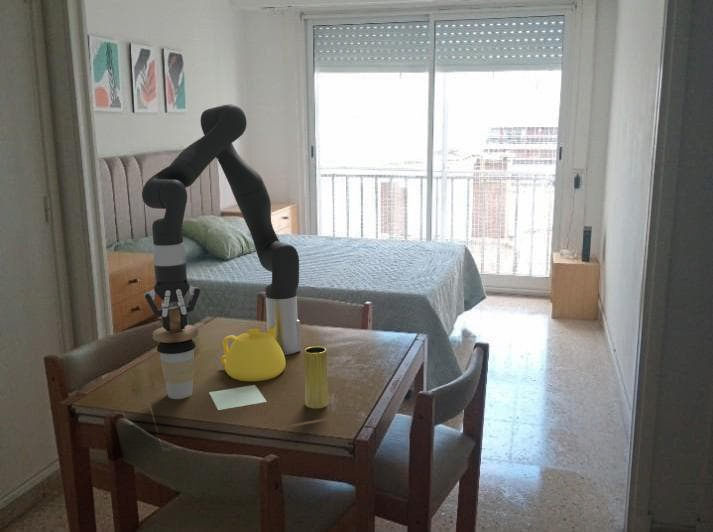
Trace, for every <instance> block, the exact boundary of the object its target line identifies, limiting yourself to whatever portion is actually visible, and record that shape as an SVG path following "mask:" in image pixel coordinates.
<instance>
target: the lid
mask: <svg viewBox="0 0 713 532" xmlns="http://www.w3.org/2000/svg"><path fill="white" fill-rule="evenodd" d="M167 315H168V318H169V331H166V329H164V328H163V326H162V327H159V328H156V329H154V330H153V332H152V339H153V340H154V341H156V342H157V343H160V342H163V343H174V342H182V341H187V340H190V339H192V340H193V339H195V338H196V337H198V335H199V328H198V327H197V326H195V325H191V324H187V326H185V329H182V324H181V310H180V307H179V306H170V307H168V312H167Z"/></svg>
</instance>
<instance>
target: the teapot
mask: <svg viewBox="0 0 713 532" xmlns="http://www.w3.org/2000/svg"><path fill="white" fill-rule="evenodd" d="M266 331H267V330H266ZM266 331H265V332H264V331H261V329H259V328H250V329H247V332H244V333H241V334H239V335H238V336H236V335H233V334H231V335H227V336H226V337H224V339H223V340H222V349H223V352H224V354H223V355H222V356H221V359H220V360H221V361H220V362H221V364H223V365H224V369H225V372H226V373H227V375H228V376H230V378H231V379H234V380H237V381H240V382H261V381H268V380H271V379H274V378H276V377H278V376H280V374H282V373H283V371H284V370H285V368H286V357H285V356H286V355H284V353H283V351H282V349H281V347H280V345H279V344H278V342H277V341H276V327H270V328H268V331H267V332H266ZM229 340H232V344H230V347H229V346H228V345H229V344H228V341H229Z"/></svg>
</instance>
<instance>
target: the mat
mask: <svg viewBox="0 0 713 532" xmlns="http://www.w3.org/2000/svg"><path fill="white" fill-rule="evenodd" d="M208 394H209V395H210V397H211V399H212V401H213V403H214V405H215V407H216V409H217V411H222V410H228V409H234V408H238V407H239V408H240V407H244V406H250V405H257V404H262V403H268V401H267V400H266V398H265V397H264V396H263V394H262V392H261V391H260V390H259V388H258V387H257V386H256V384H253V385H252V384H251V385H247V386H240V387H233V388H228V389H222V390H216V391H209V392H208Z"/></svg>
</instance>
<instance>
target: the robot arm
mask: <svg viewBox="0 0 713 532" xmlns="http://www.w3.org/2000/svg"><path fill="white" fill-rule="evenodd" d="M200 127H201V130H202V134H203V136H201V137H200V138H199V139H197V140H195V141H194V142H192V143H191V144H190V145H188V146H186V148H184V149H183V150H182V151H181V152H180V153H179V154H178V155H177V156H176V158H175V159H174V160H173V161H172V162H171V163H170V165H168V166H166V167H164V168H163V169H161V170H159V171H158V172H157V173H155V174H154V175H152V176H151V177H150V178H148V180H146V182H145V184H144V185H143V188H142V191H141V198H142V201H143V203H144V204H145V205H146V206H147V207H149V208H152V209H157V210H158V209H160V210H161V209H162V210H165V213H164V217H162V218H158V219H155V220H154V221H153V222H152V227H151V228H152V232H151V233H152V241H153V253H152V255H153V266H154V267H153V268H154V270H153V271H154V281H155V283H154V284H155V285H154V287H153V289H151V290H150V291H145V292H144V293H143V295H144V296H143V297H144V298H145V299H146V301H147V303H148V305H149V306H150V308H151V310H152V311H153V314H154V315H155V316H161V324H162V327H163V328H164V329H166V331H169V318H168V315H167V312H168V308H170V307H169V305H170V304H171V303H177V304H178V307H180V310H181V324H182V329H185V326H187V325H188V317H187V315H188V313H189V312H193V311H194V310H195V307H196V304H197V301H198V298H199V295H200V292H201V289H200V288H199V287H198V286H192V285H190V283H189V282H188V277H187V276H188V274H187V272H188V271H187V261H186V260H187V257H186V249H185V245H184V234H183V224H184V223H183V222H184V218H185V213H186V208H187V202H188V192H187V189H186V188H188V187H190V186H192V185H193V184H194V182H195V181H196V180H197V179H198V178H199V177H200V176H201V174H202V173H203V171H204V170H205V169H206V168H207V167H208V166H209V165H210V164H211V162H213V161H214V160H215V158H216V160H217V162H218V163H219V165H220V167H221V169H222V171H223V173H224V176H225V179H226V180H227V182H228V185H229V186H230V189H231V192H232V194H233V198H234V200H235V202H236V204H237V206H238V208H239V210H240V213H241V215H242V218H243V219H244V221H245V224H246V226H247V229H248V231H249V233H250V235H251V239H252V242H253V244H254V249H255V251H256V255H257V257H258V258H257V259H258V260H259V263H260V265H261V266H262V268H264V269H265V270H266V271H269V272H271V283H270V284H269V285H267V286H266V287H265V291H264V292H265V309H266V328H267V329H266V331H268V328H270V327H276V341H277V342H278V344H279V345H280V347H281V349H282V351H283V353H284V356H288V355H292V354H295V353H297V352H302V349H301V347H302V344H301V343H302V342H301V321H300V320H299V318H298V297H297V296H298V294H297V293H298V292H297V291H298V288H299V283H300V256H299V253H298V250H297V249H296V247H295V246H294V245H292V244H290V243H286V242H281V241H280V239H279V237H278V236H277V234H276V231H275V229H274V226H273V224H272V218H271V216H272V215H271V214H272V213H271V212H272V211H271V209H272V208H271V207H272V206H271V205H272V204H271V198H270V195H269V193H268V189H267V187H266V185H265V181H264V179H263V178H262V176H261V175H260V174H259V173H258V171H256V169H255V168H253V167H252V166H251V165H250V164H249V163H248V162H247V161H246V160H244V159H243V157H241V156H240V154H239V153H238V151H237V150H236V149H235V147H234V145H233V143H234V142H235V141H236V140H238V139H239V138H240V137H242V136H243V134H244V133H245V131H246V130H247V117H246V114H245V112H244V110H243V109H242V108H241V107H240V106H239V105H238V104H237V105H236V104H233V103H232V104H223V105H220V106H215V107H211V108H208V109H205V110H204V111H203V112H202V114H201V115H200ZM188 292H189V294H190V297H189V301H188V304H187V305H186V304H185V301H184V298H185V296H186V295H187V294H188ZM155 295H157V296H158V297H159V298H160V299H161V309H159V308H158V307H157V305H156V303H155V302H154V300H155V299H156V298H155Z"/></svg>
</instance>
